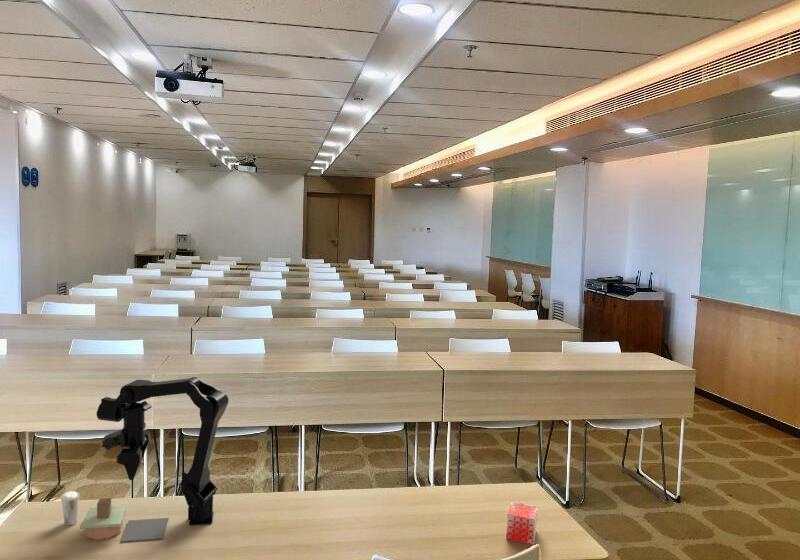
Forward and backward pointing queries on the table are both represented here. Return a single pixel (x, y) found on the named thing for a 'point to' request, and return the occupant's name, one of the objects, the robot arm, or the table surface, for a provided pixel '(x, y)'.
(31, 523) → the table surface
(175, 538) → the table surface
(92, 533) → the bowl
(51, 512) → the table surface
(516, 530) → the puzzle cube
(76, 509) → the milkshake
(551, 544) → the table surface
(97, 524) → the cover board
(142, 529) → the mat
